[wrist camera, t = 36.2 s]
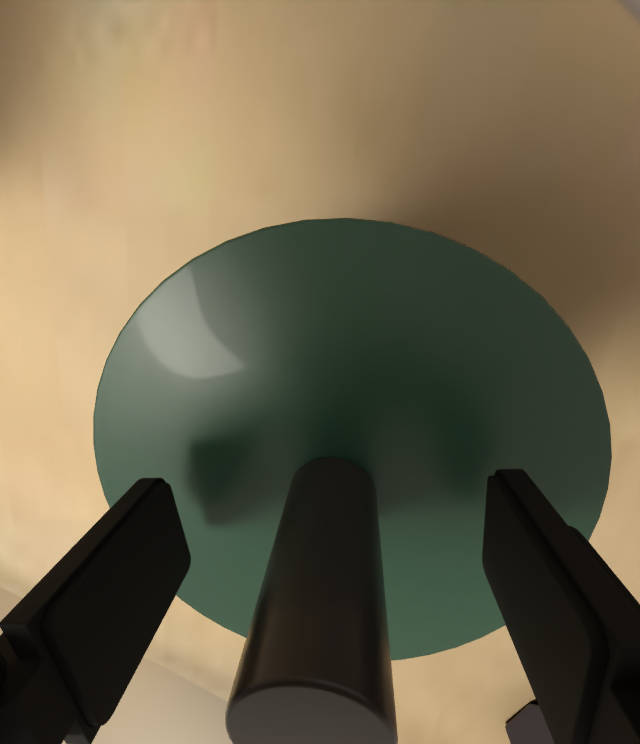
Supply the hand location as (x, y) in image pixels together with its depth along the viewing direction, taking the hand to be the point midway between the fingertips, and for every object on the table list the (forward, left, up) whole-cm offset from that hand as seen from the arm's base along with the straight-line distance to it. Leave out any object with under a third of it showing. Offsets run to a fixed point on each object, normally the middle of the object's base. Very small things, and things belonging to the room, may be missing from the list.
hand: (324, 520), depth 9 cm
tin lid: (0, 0, -2) cm, 2 cm away
